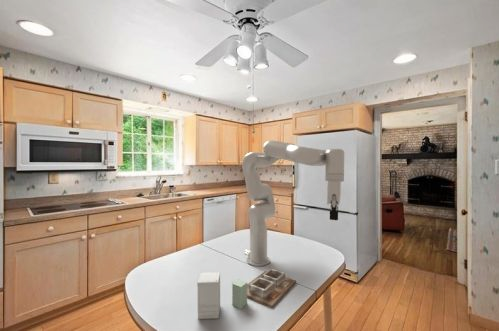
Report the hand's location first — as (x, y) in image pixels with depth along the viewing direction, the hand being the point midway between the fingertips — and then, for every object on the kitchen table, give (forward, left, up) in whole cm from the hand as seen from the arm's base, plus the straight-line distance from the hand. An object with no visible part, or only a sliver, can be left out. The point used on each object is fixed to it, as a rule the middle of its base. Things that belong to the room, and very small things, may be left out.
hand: (334, 217), depth 96 cm
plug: (-26, -33, -30) cm, 52 cm away
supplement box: (-32, -43, -31) cm, 62 cm away
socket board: (-23, -17, -30) cm, 41 cm away
